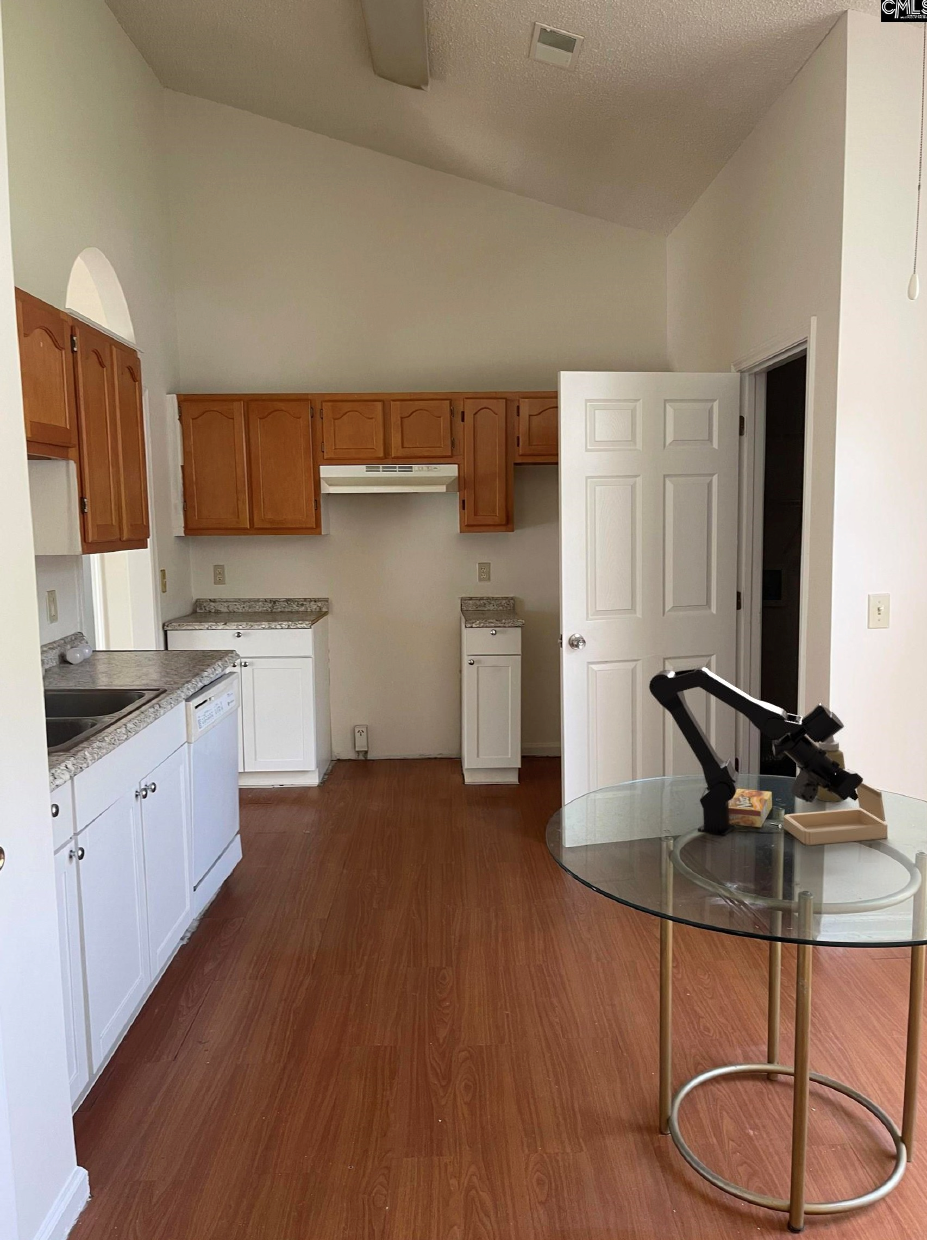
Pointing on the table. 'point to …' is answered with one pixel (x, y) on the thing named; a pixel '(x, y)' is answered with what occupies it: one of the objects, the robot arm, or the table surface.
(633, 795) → the table surface
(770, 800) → the candy box
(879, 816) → the flap
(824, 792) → the squeeze bottle
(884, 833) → the carton
